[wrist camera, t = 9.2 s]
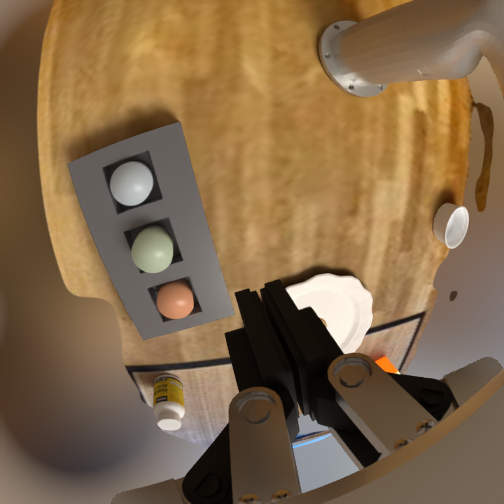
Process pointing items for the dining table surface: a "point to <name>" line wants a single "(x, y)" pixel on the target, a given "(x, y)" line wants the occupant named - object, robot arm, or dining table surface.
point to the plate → (337, 306)
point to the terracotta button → (175, 299)
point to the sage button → (152, 249)
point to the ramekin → (450, 224)
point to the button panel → (146, 214)
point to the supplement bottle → (168, 401)
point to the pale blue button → (132, 182)
